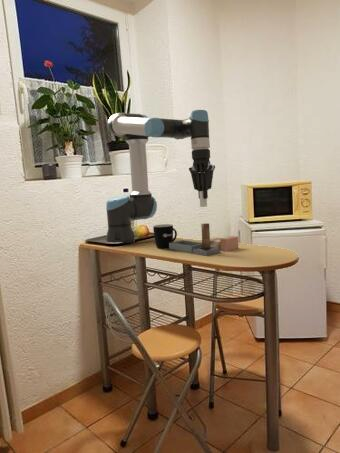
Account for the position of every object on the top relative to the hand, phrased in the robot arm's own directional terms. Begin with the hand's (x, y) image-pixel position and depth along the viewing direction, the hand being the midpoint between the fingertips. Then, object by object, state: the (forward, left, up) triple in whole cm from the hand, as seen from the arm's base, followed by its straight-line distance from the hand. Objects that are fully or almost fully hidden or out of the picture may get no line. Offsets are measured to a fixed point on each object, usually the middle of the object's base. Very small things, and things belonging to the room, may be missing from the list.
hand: (203, 206), depth 150 cm
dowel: (+4, -4, -19) cm, 20 cm away
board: (0, +7, -19) cm, 20 cm away
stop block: (+7, +7, -19) cm, 21 cm away
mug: (-20, -4, -19) cm, 28 cm away
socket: (+4, -4, -19) cm, 19 cm away
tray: (-7, -4, -19) cm, 20 cm away
